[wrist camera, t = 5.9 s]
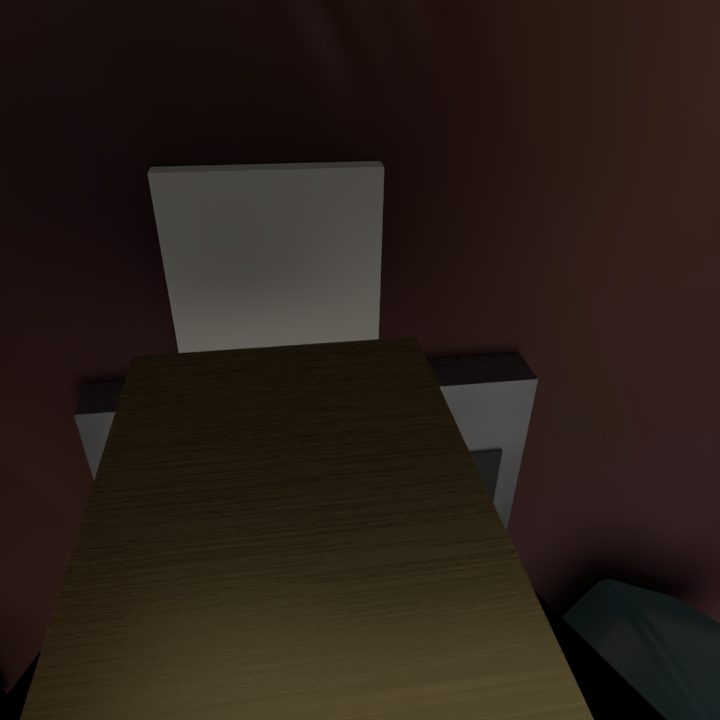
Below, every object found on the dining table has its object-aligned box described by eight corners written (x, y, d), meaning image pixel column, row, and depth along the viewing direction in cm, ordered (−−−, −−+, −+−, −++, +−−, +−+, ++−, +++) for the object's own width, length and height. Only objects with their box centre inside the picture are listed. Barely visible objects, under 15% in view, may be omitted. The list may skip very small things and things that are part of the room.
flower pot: (609, 678, 33) (712, 881, 26) (483, 653, 30) (560, 876, 23) (724, 578, 30) (883, 780, 22) (595, 538, 27) (730, 758, 19)
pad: (184, 363, 19) (182, 373, 18) (150, 166, 15) (147, 173, 15) (374, 350, 20) (377, 360, 19) (380, 161, 16) (384, 166, 16)
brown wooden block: (176, 551, 12) (104, 1121, 6) (132, 356, 9) (-66, 989, 3) (402, 526, 12) (540, 1020, 6) (415, 336, 10) (652, 848, 4)
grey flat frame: (135, 557, 23) (127, 595, 21) (86, 383, 19) (72, 417, 17) (489, 518, 25) (503, 551, 23) (519, 352, 20) (539, 380, 19)
